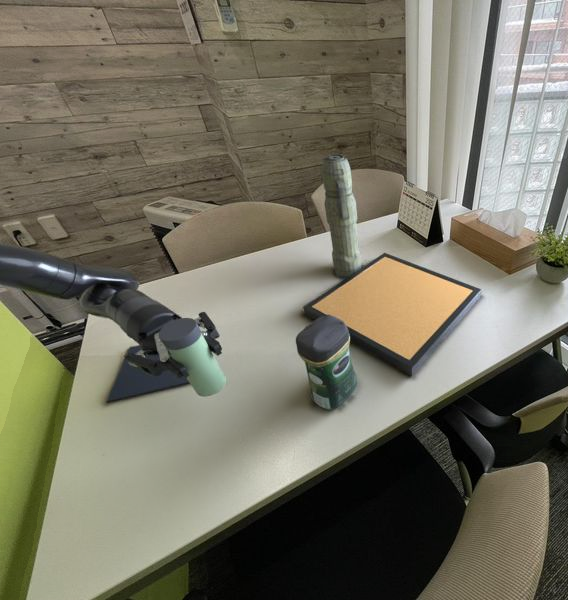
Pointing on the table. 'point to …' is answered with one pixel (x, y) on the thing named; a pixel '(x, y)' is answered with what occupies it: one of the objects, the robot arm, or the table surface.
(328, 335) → the coffee jar
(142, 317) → the robot arm
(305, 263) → the table surface
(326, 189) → the thermos
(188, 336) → the canister
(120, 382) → the mat
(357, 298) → the cork board
